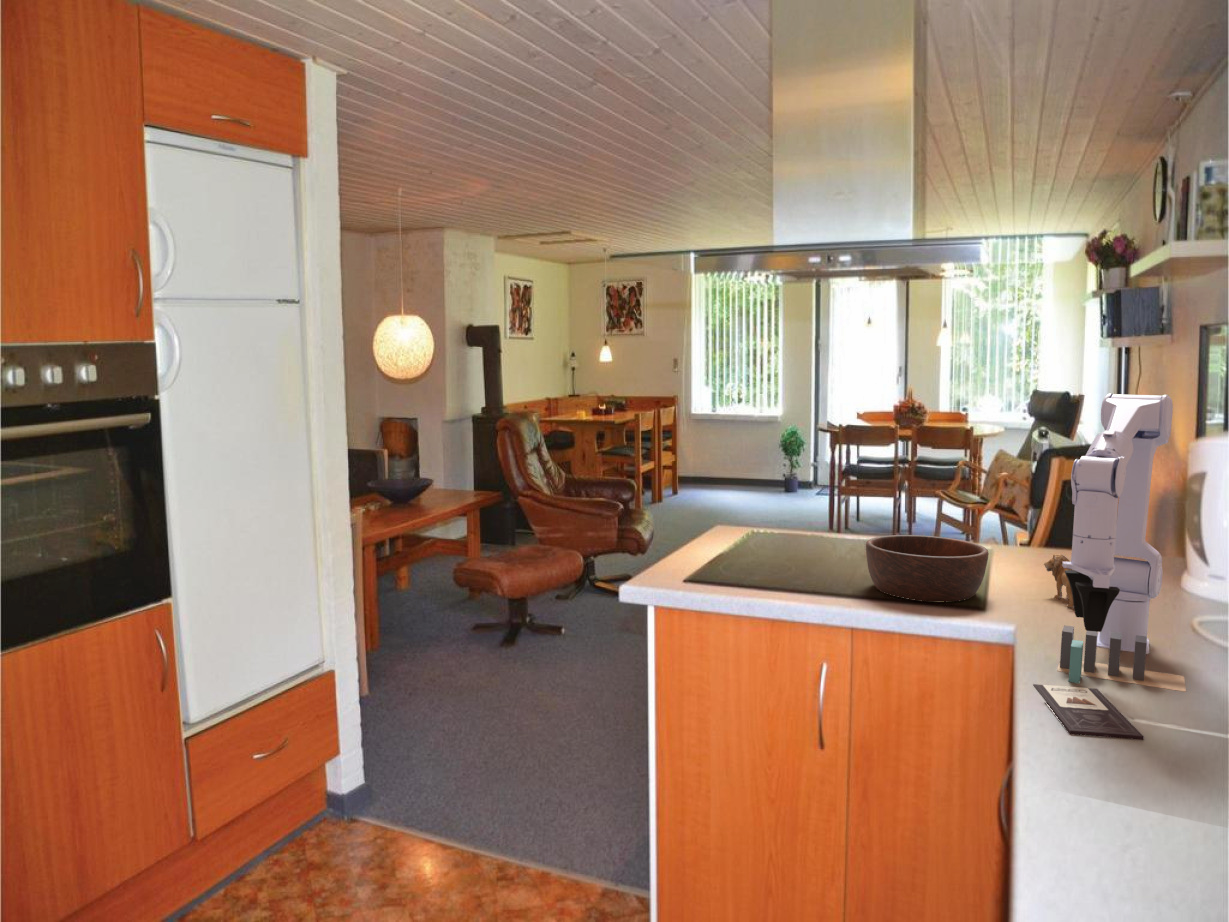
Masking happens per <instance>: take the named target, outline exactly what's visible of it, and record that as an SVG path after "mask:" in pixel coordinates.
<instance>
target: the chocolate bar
mask: <svg viewBox="0 0 1229 922" xmlns="http://www.w3.org/2000/svg"><path fill="white" fill-rule="evenodd" d="M1032 685H1033V687H1034V688H1035V689H1036V690H1037V692H1038V693H1039V694H1040V696H1041V697H1042V699H1043V700H1044V702H1046V703H1047V704H1048V705H1049V706H1050V708H1051V709H1052V710H1053V712H1054V713H1055V715H1056V716H1057V717H1058V719H1059V720H1060V721H1061V722H1062V724H1063V725H1064V727H1065V728H1066V729H1065V728H1064V727H1063V728H1064V729H1065V730H1066V731H1068V732H1067V733H1068V735H1071V734H1074V736H1084V735H1085V736H1086V737H1099V738H1110V739H1111V738H1113V739H1125V740H1137V741H1138V740H1139V741H1144V740H1145V739H1144V735H1143V734H1142V733H1141V732H1140V731H1139V730H1138V729H1137V728H1136V727H1135V726H1134V725H1133V724H1132V723H1131V722H1130V720H1129V719H1128V718H1126V717H1125V715H1123V714H1122V712H1121V711H1120V710H1118V708H1116V706H1115V705H1113V703H1112V702H1111V701H1110V700H1109V699H1108V698H1107V697H1106V696H1105V695H1104V694H1103V693H1102V692H1101V691H1100V690H1099V688H1091V687H1077V686H1067V685H1066V686H1065V685H1049V684H1035V683H1033V684H1032ZM1055 715H1054V716H1055ZM1056 716H1055V717H1056ZM1058 719H1057V720H1058ZM1059 720H1058V721H1059ZM1060 721H1059V722H1060ZM1062 724H1061V725H1062ZM1063 725H1062V726H1063Z"/></svg>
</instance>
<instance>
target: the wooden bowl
mask: <svg viewBox="0 0 1229 922" xmlns="http://www.w3.org/2000/svg"><path fill="white" fill-rule="evenodd" d="M865 553H866V563H867V564H866V565H867V569H868V573H869V577H870V579H871V580H872V583H873V585H874V586H875V588H876V589H877V590H878V589H879V590H881V591H883V592H885V593H888V594H891V595H895V596H899V597H904V598H909V599H915V600H922V601H921V602H923V601H944V602H943V603H947V602H946V601H958V602H960V601H959V600H964V599H967V600H969V599H971V598H972V597H974V596H975V595H976V594H977V592H978V591H979V589H980V587H981V586H982V583H983V581H984V577H985V574H986V570H987V566H988V561H989V556H990V555H989V554H990V553H989V549H987V548H986V547H984V546H983V545H981V544H978V543H975V542H972V541H968V540H963V539H956V538H953V537H952V538H950V537H944V536H943V537H942V536H933V535H923V534H922V535H920V534H916V535H915V534H896V535H895V534H894V535H882V536H881V535H880V536H877V537H872V538H870V539H868V540H867V541H866V542H865ZM879 590H878V591H879ZM881 591H880V592H881ZM883 592H882V593H883ZM885 593H884V594H885ZM968 598H969V599H968ZM964 601H965V600H964Z"/></svg>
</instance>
